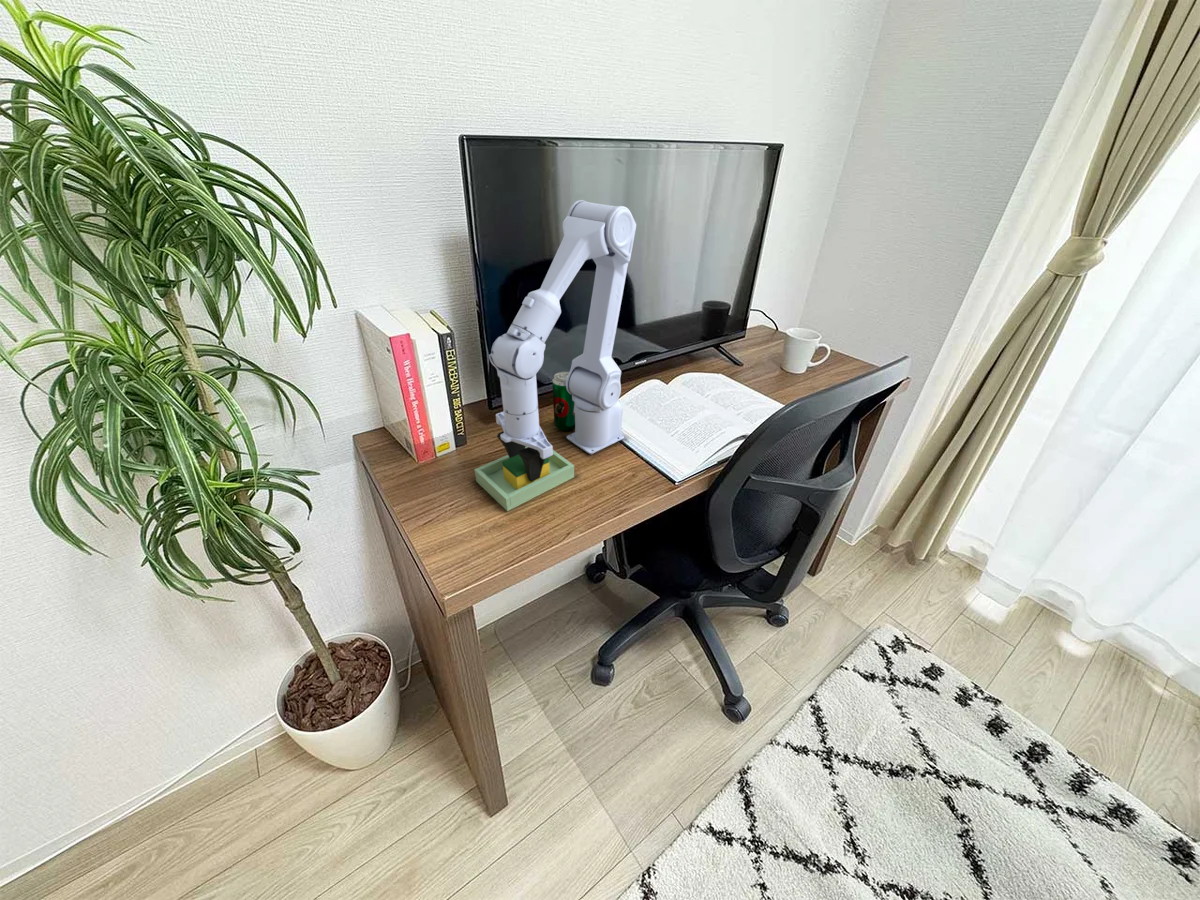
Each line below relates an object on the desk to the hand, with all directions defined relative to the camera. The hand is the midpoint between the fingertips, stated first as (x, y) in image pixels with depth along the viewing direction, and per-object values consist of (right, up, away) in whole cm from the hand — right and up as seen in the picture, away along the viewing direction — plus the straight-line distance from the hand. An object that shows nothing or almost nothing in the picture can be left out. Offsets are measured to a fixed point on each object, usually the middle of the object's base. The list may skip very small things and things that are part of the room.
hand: (526, 471), depth 86 cm
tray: (0, -1, +1) cm, 2 cm away
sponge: (0, -1, +1) cm, 1 cm away
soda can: (+6, +9, +17) cm, 20 cm away
